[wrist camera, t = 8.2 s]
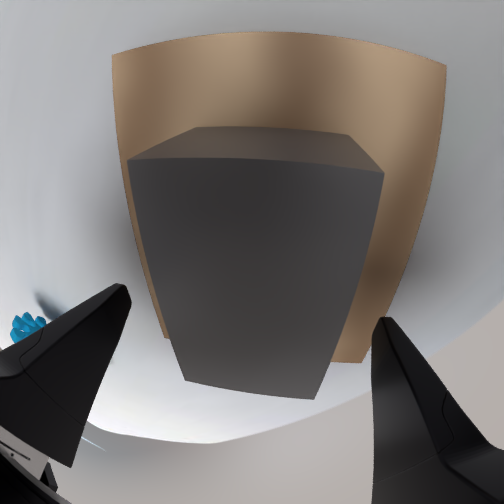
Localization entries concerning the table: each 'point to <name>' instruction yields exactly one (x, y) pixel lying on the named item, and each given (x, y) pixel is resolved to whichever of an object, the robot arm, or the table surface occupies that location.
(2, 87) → the table surface
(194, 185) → the block
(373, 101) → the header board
